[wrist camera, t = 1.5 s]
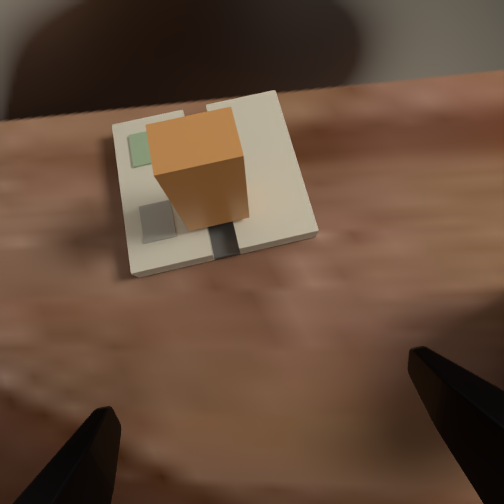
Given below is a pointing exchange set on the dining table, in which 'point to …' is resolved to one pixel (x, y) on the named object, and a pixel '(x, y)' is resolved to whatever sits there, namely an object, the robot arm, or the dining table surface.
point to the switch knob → (200, 167)
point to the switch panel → (227, 234)
